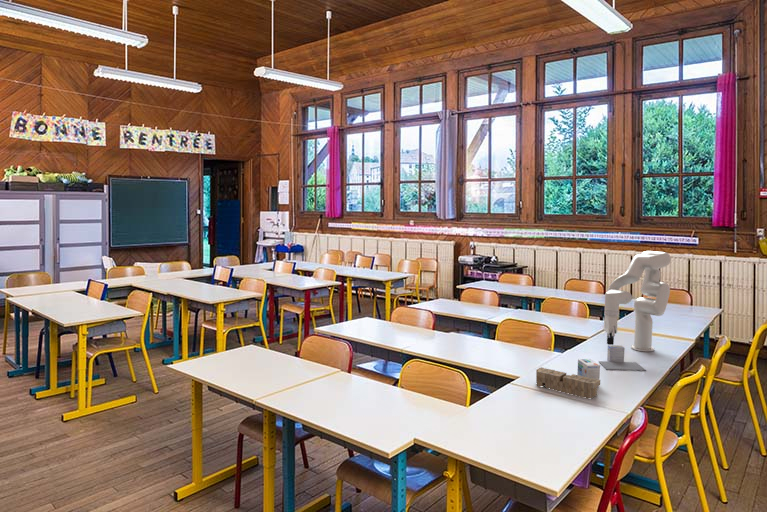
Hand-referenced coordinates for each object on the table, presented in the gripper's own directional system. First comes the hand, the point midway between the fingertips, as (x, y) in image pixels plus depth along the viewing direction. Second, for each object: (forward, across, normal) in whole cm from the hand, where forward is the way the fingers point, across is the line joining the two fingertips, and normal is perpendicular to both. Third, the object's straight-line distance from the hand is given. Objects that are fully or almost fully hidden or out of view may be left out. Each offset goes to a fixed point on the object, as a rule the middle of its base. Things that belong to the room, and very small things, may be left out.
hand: (610, 344), depth 309 cm
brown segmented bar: (+8, +61, -39) cm, 73 cm away
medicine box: (+7, +10, 0) cm, 12 cm away
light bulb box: (+7, +50, -26) cm, 57 cm away
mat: (+7, +20, 0) cm, 21 cm away
